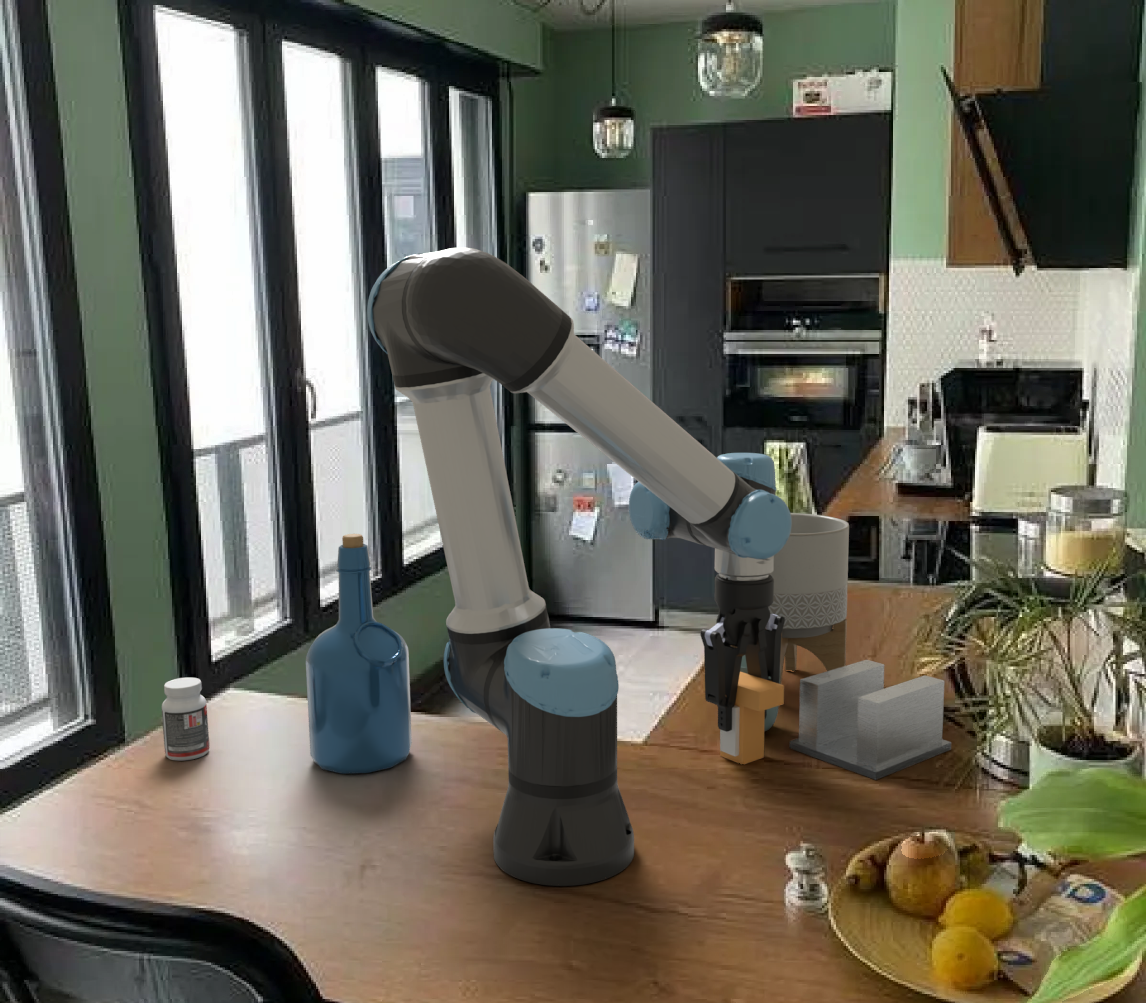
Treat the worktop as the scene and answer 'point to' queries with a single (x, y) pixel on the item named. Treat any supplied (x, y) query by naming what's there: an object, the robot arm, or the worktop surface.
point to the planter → (813, 590)
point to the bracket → (870, 719)
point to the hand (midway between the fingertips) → (742, 748)
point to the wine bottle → (358, 679)
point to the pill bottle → (185, 720)
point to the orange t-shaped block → (753, 714)
